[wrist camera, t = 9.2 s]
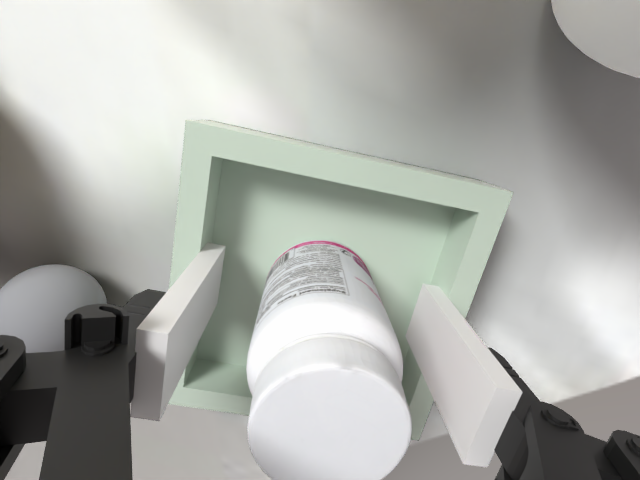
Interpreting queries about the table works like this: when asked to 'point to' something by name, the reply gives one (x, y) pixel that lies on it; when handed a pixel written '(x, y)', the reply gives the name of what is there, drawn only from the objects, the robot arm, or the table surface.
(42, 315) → the rubber ball
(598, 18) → the sauce bottle
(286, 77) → the table surface
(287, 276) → the pill bottle
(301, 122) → the table surface
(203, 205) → the tray
